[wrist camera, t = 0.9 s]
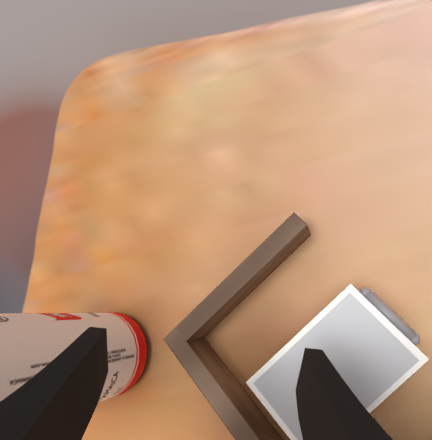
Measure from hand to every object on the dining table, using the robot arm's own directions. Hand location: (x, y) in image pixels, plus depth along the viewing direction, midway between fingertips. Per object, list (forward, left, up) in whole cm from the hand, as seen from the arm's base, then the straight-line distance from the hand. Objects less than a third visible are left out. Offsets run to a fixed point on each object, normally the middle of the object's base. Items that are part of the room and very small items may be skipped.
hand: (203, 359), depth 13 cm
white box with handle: (-4, -2, -14) cm, 15 cm away
